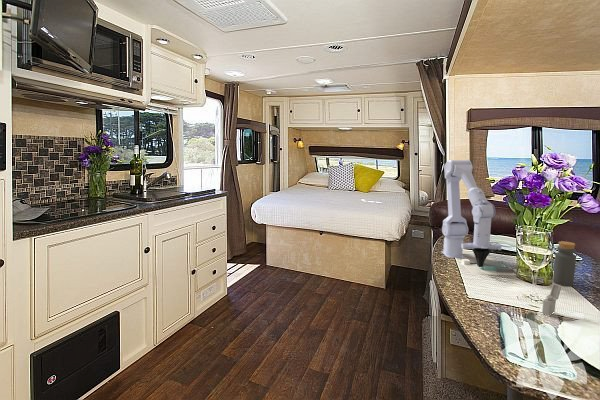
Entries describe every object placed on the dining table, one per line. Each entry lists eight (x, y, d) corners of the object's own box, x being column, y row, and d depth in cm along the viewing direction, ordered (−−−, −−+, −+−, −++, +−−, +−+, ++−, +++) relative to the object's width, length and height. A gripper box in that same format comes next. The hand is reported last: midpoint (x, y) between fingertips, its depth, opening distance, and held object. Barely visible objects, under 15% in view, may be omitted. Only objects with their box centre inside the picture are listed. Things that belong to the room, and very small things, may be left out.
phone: (484, 270, 131) (484, 265, 130) (479, 266, 136) (479, 261, 135) (506, 271, 130) (506, 266, 129) (500, 266, 135) (500, 262, 134)
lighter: (548, 316, 95) (551, 289, 94) (541, 313, 96) (544, 287, 95) (559, 310, 98) (561, 284, 97) (552, 307, 100) (554, 282, 99)
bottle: (577, 287, 115) (581, 245, 113) (558, 285, 116) (562, 244, 114) (567, 280, 121) (571, 241, 119) (549, 279, 122) (553, 240, 120)
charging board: (472, 275, 127) (472, 269, 127) (459, 263, 141) (460, 258, 141) (516, 276, 125) (517, 271, 125) (499, 264, 139) (499, 259, 139)
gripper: (466, 235, 128) (464, 269, 130) (506, 236, 127) (503, 270, 128) (460, 231, 135) (458, 263, 137) (497, 232, 133) (495, 264, 135)
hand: (479, 266), depth 133 cm, fingers closed
